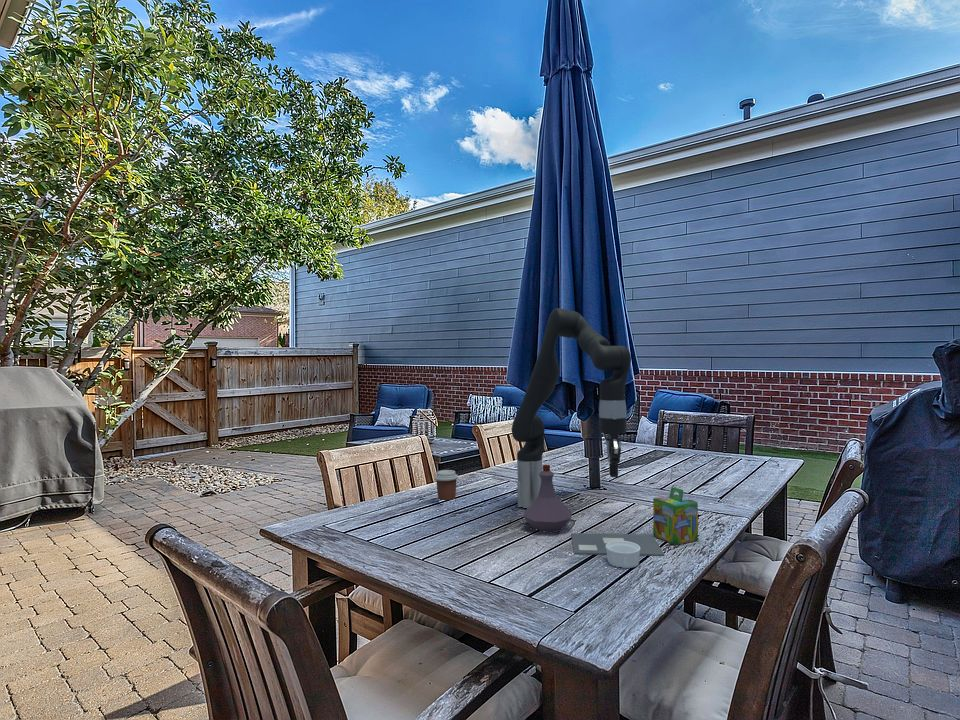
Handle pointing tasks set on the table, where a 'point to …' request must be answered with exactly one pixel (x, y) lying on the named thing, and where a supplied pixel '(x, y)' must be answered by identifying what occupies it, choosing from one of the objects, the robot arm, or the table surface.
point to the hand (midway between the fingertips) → (613, 476)
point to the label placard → (597, 542)
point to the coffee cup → (446, 484)
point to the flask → (547, 506)
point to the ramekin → (623, 554)
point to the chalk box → (675, 518)
